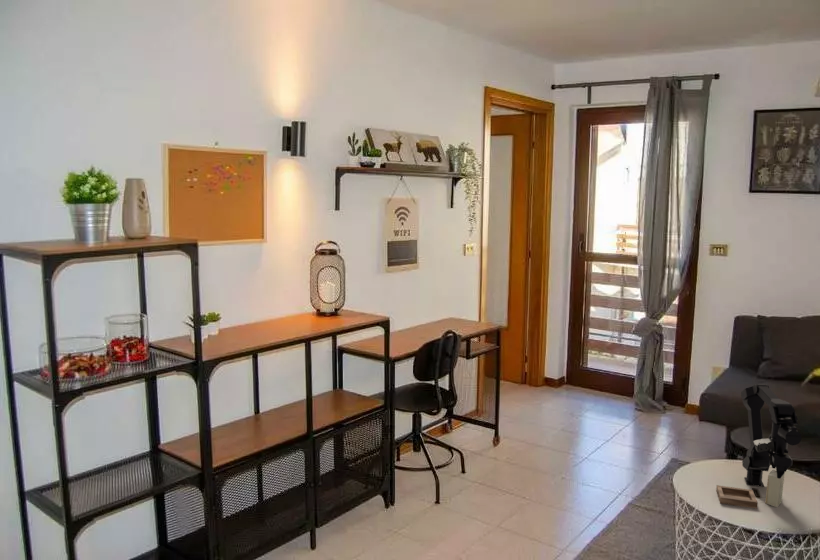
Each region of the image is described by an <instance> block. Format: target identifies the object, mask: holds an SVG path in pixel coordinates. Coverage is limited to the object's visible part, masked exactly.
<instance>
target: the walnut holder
mask: <svg viewBox="0 0 820 560" xmlns="http://www.w3.org/2000/svg"><path fill="white" fill-rule="evenodd" d="M715 489H716V494H717V498H718V501H719V504H722V505H729V506H735V507H743V508H749V509H751V508H752V509H758V504H759V502H758V500H757V498H756V495H755V493H754V490H753V489H748V488H740V487H735V486H734V487H733V486H725V485H718V484H716V488H715Z"/></svg>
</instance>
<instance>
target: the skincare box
mask: <svg viewBox="0 0 820 560" xmlns="http://www.w3.org/2000/svg"><path fill="white" fill-rule="evenodd" d="M785 473H786V472H785ZM785 473H784V474H783V476H782V477H781V478H777V473H776V470H774V469H772V470H771V471H770V472H769V473H768V475H767V481H766V482H767V483H766V484H767V485H766V492H765V493H766V494H765V504H766V505H768V506H772V507H776V508H778V507H779V506H780V504H781V503H782V502H783V492H784V491H783V490H784V482H785Z"/></svg>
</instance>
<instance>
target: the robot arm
mask: <svg viewBox="0 0 820 560" xmlns="http://www.w3.org/2000/svg"><path fill="white" fill-rule="evenodd" d="M740 396H741V397H740V398H741V399H742V404H743V406H744V407H745V408H746V410H747V416H748V417H747V418H748V429H749V430H748V431H749V433H748V434H749V441H750V442H749V443H750V444H749V447H748V449H747V450H746V457H745V458H743V460H742V461H741V462H742V467H743V468H744V470H746V476H744V477H743V479H744V481H745V484H746V485H748V486H756V487H762V488H764V487H765V485H764V482H763V474H764V472H769V469H770V466H771V468H772V469H776V470H775V471H776V473H777V478H781V477H782V476H783V474H784V473H786V471H787V470H789V468H790V467H792V466H793V461H794V460H793V458H791V456H790V455H789V449H788V445H790V446H797V445H798V444H800V443H801V441H802V434H801V433H800V432H799V431H798V428H797V427H796V426H795V425H799V424H798V423H799V422H798V421H799V420H798V416H797V413H796V410H795V407H794V405H792V403H790V402H788V401H787V400H784V399H781V398H779V397H778V395H777V394H775V393H774V392H773V391H772V389H771V388H770V387H769V385H768V384H766V383H756V384H754V385H752V386H749V387H746V388H744V389H743V390H742V391H741V393H740ZM765 404H766V405H767V406H768V407H769V410H768V412H769V413H770V416H771V417H770V419H771V420H772V421H771V433H770V434H769V435H768V438H764V435H763V423H762V413H761V412H762V409H763V407H764V405H765Z"/></svg>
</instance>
